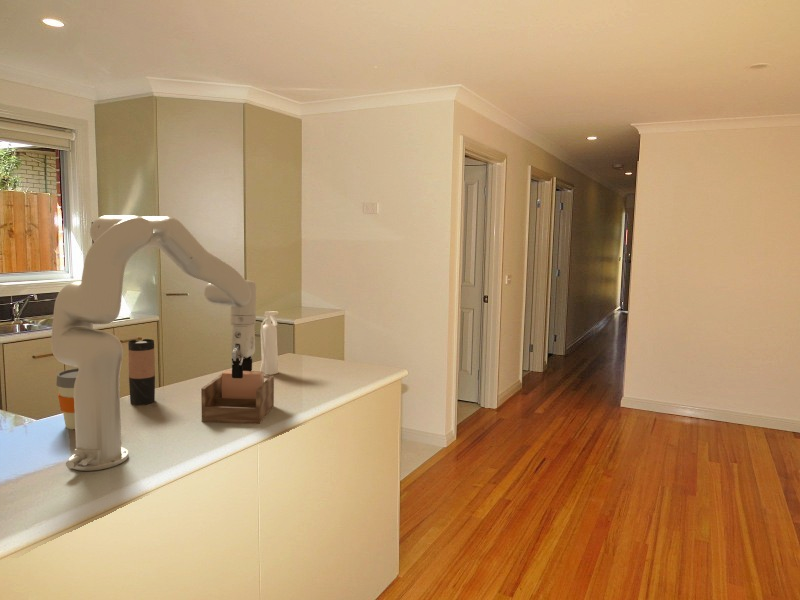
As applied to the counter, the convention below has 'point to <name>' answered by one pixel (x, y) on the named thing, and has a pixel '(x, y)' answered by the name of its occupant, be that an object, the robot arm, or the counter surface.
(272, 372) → the white spray bottle
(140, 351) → the travel mug
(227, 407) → the wooden crate
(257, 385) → the peach rectangular block
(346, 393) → the counter surface
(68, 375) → the reusable coffee cup
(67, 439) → the counter surface
